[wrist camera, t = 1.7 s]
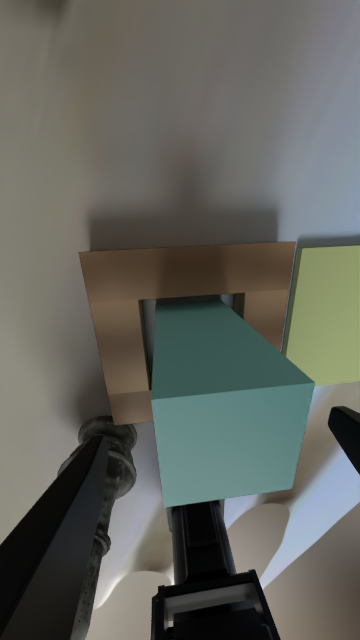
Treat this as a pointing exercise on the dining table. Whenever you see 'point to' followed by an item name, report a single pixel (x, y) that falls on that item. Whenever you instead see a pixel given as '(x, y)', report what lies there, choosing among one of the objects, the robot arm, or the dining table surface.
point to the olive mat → (325, 314)
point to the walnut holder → (176, 281)
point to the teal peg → (223, 406)
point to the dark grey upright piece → (103, 504)
